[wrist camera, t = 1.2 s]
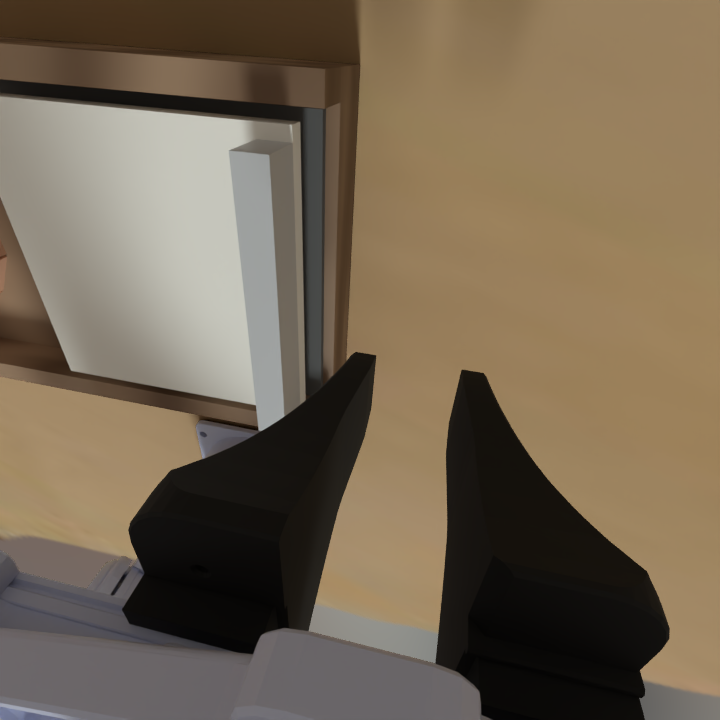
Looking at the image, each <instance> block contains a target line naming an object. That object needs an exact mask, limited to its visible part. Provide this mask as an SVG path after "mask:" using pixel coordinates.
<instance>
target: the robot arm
mask: <svg viewBox="0 0 720 720" xmlns="http://www.w3.org/2000/svg"><path fill="white" fill-rule="evenodd" d="M375 363H376V355H370V354H364V353H358V352H355V353H354V354H352V355H351V356H350V358H349V359H348V360H347V361H346V362H345V363H344V364H343V366H342V367H341V368H340V369H339V370H338V371H337V372H336V373H335V374H334V375H333V376H332V377H331V378H330V379H329V380H328V381H327V382H326V383H325V384H323V385H322V386H321V387H320V388H319V389H318V390H317V391H316V392H315V393H314V394H312V395H311V396H310V397H309V398H308V399H306V400H305V401H304V402H303V403H302V404H300V405H299V406H298V407H297V408H295V409H294V410H293V411H291V412H290V413H288V414H287V415H286V416H284V417H283V418H281V419H280V420H278V421H277V422H275V423H274V424H272V425H271V426H269V427H267V428H266V429H264V430H262V431H256V430H251V429H246V428H241V427H236V426H230V425H225V424H220V423H215V422H210V421H205V420H200V421H199V422H198V423H197V425H196V431H197V435H198V440H199V444H200V449H201V453H202V458H203V459H201V460H199V461H196V462H193V463H191V464H188V465H185V466H182V467H180V468H177V469H174V470H171V471H170V472H169V473H168V474H167V475H166V477H165V478H164V479H163V480H162V481H161V482H160V483H159V484H158V485H157V487H156V488H155V489H154V491H153V492H152V493H151V495H150V496H149V497H148V499H147V500H146V501H145V503H144V504H143V506H142V507H141V508H140V510H139V511H138V513H137V514H136V515H135V517H134V518H133V520H132V521H131V522H130V526H129V530H128V531H129V535H130V539H131V543H132V546H133V548H134V550H135V553H136V555H137V557H138V558H137V559H136V561H135V562H134V564H133V565H132V566H131V567H130V566H129V565H130V563H131V561H132V560H131V559H129V558H128V557H126V556H121V557H120V558H119V559H118V560H116V559H115V560H112V561H109V562H107V563H106V564H105V565H104V566H103V567H102V568H101V570H100V571H99V572H98V574H97V575H96V577H95V578H94V579H93V581H92V582H91V583H90V585H89V586H88V587H87V589H86V588H82V587H78V586H74V585H70V584H66V583H63V582H59V581H55V580H51V579H47V578H43V577H40V576H36V575H32V574H28V573H24V572H20V571H19V568H18V566H17V564H16V562H15V561H14V560H13V559H12V558H11V557H10V556H9V555H8V554H7V553H5V552H3V551H2V550H0V720H645V719H644V715H643V711H642V707H641V703H640V699H639V698H642V697H643V696H644V695H645V688H644V684H643V680H642V677H641V673H640V670H641V669H642V668H643V667H644V666H645V665H646V664H647V663H648V662H649V661H650V660H651V659H652V658H653V657H654V656H655V655H657V654H658V653H659V652H660V651H661V650H662V648H663V647H664V646H665V644H666V643H667V641H668V640H669V630H670V628H669V625H668V622H667V619H666V617H665V614H664V611H663V608H662V605H661V602H660V600H659V597H658V595H657V592H656V590H655V588H654V586H653V584H652V582H651V580H650V577H649V575H648V573H647V571H646V570H644V569H643V568H642V567H641V566H639V565H638V564H637V563H636V562H635V561H633V560H632V559H631V558H630V557H628V556H627V555H626V554H625V553H623V552H622V551H621V550H620V549H619V548H617V547H616V546H615V545H614V544H612V543H611V542H610V541H609V540H608V539H606V538H605V537H604V536H603V535H602V534H601V533H600V532H599V531H598V530H597V529H596V528H594V527H593V526H592V525H591V524H590V523H589V522H588V521H587V520H586V519H585V518H584V517H583V516H582V515H581V514H580V513H579V512H578V511H577V510H576V509H575V508H574V507H573V506H572V505H571V504H570V503H569V502H568V501H567V500H566V499H565V498H564V497H563V496H562V495H561V494H560V493H559V491H558V490H557V489H556V488H555V487H554V486H553V485H552V484H551V483H550V481H549V480H548V479H547V478H546V477H545V475H544V474H543V473H542V471H541V470H540V469H539V468H538V466H537V465H536V464H535V462H534V461H533V460H532V458H531V457H530V455H529V454H528V453H527V451H526V450H525V448H524V447H523V445H522V444H521V442H520V440H519V439H518V437H517V436H516V434H515V433H514V431H513V429H512V428H511V426H510V424H509V422H508V420H507V419H506V417H505V415H504V413H503V411H502V410H501V408H500V406H499V404H498V402H497V400H496V398H495V396H494V393H493V391H492V389H491V387H490V384H489V382H488V380H487V377H486V376H485V374H484V373H479V372H473V371H467V370H462V371H461V375H460V379H459V383H458V388H457V392H456V396H455V400H454V404H453V408H452V413H451V417H450V421H449V429H448V438H447V449H446V475H447V544H446V556H445V569H444V580H443V592H442V603H441V613H440V623H439V634H438V645H437V654H436V663H431V662H428V661H424V660H420V659H416V658H412V657H408V656H404V655H400V654H396V653H392V652H389V651H384V650H380V649H377V648H373V647H369V646H365V645H361V644H357V643H353V642H349V641H345V640H341V639H337V638H333V637H330V636H325V635H322V634H317V633H314V632H309V631H308V630H309V626H310V621H311V617H312V613H313V609H314V605H315V600H316V596H317V592H318V588H319V584H320V580H321V575H322V571H323V567H324V563H325V559H326V555H327V551H328V547H329V543H330V539H331V535H332V531H333V528H334V524H335V520H336V516H337V512H338V509H339V506H340V503H341V500H342V497H343V494H344V491H345V489H346V486H347V483H348V480H349V478H350V475H351V472H352V470H353V467H354V464H355V461H356V459H357V456H358V453H359V450H360V448H361V445H362V442H363V439H364V436H365V432H366V428H367V424H368V420H369V415H370V411H371V405H372V394H373V384H374V374H375Z"/></svg>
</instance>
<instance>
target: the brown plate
mask: <svg viewBox="0 0 720 720" xmlns="http://www.w3.org/2000/svg"><path fill="white" fill-rule="evenodd" d="M5 255H6V251H5V249H4V247H3V244H2V242H1V240H0V293H1V292H3V290H4V282H5V273H6V263H7V256H5Z"/></svg>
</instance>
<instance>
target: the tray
mask: <svg viewBox="0 0 720 720" xmlns="http://www.w3.org/2000/svg"><path fill="white" fill-rule="evenodd" d="M359 78H360V65H359V64H346V63H333V62H320V61H307V60H294V59H281V58H268V57H255V56H242V55H229V54H216V53H203V52H190V51H177V50H164V49H151V48H138V47H125V46H112V45H100V44H87V43H74V42H61V41H48V40H35V39H22V38H9V37H0V79H3V80H14V81H25V82H36V83H47V84H58V85H69V86H80V87H91V88H102V89H113V90H123V91H134V92H145V93H156V94H167V95H178V96H189V97H200V98H211V99H222V100H233V101H244V102H255V103H266V104H276V105H287V106H298V107H309V108H320V109H326V151H325V246H324V341H323V384H325V383H326V382H327V381H328V380H329V379H330V378H331V377H332V376H333V375H334V374H335V373H336V372H337V371H338V370H339V369H340V368H341V367H342V366H343V364H344V363H345V362H346V351H347V330H348V309H349V288H350V267H351V246H352V225H353V204H354V183H355V162H356V141H357V120H358V99H359ZM0 240H1V242H2V244H3V247H4V249H5V251H6V255H5V256H7V263H6V273H5V282H4V290H3V292H1V293H0V377H5V378H10V379H15V380H20V381H26V382H31V383H36V384H41V385H46V386H51V387H57V388H62V389H67V390H72V391H77V392H82V393H88V394H93V395H98V396H103V397H108V398H113V399H118V400H124V401H129V402H134V403H139V404H144V405H149V406H155V407H160V408H165V409H170V410H175V411H180V412H186V413H191V414H196V415H201V416H206V417H211V418H217V419H222V420H227V421H232V422H237V423H242V424H248V425H253V426H258V420H257V410H256V405H252V404H247V403H241V402H236V401H231V400H225V399H220V398H214V397H209V396H204V395H198V394H193V393H188V392H182V391H177V390H172V389H166V388H161V387H156V386H150V385H145V384H140V383H134V382H129V381H124V380H118V379H113V378H108V377H102V376H97V375H92V374H86V373H81V372H75V371H71V369H70V367H69V365H68V362H67V360H66V357H65V355H64V352H63V350H62V347H61V345H60V342H59V340H58V338H57V335H56V333H55V330H54V328H53V325H52V323H51V320H50V318H49V316H48V313H47V311H46V308H45V306H44V303H43V301H42V298H41V296H40V293H39V291H38V289H37V286H36V284H35V281H34V279H33V276H32V274H31V271H30V269H29V266H28V264H27V262H26V259H25V257H24V254H23V252H22V249H21V247H20V244H19V242H18V239H17V237H16V235H15V232H14V230H13V227H12V225H11V222H10V220H9V217H8V215H7V212H6V210H5V208H4V205H3V203H2V200H1V198H0ZM309 397H310V395H306V399H308V398H309Z"/></svg>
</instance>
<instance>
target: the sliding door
mask: <svg viewBox="0 0 720 720" xmlns="http://www.w3.org/2000/svg"><path fill="white" fill-rule="evenodd" d="M0 198H1V200H2V203H3V205H4V208H5V210H6V212H7V215H8V217H9V220H10V222H11V225H12V227H13V230H14V232H15V235H16V237H17V239H18V242H19V244H20V247H21V249H22V252H23V254H24V257H25V259H26V262H27V264H28V266H29V269H30V271H31V274H32V276H33V279H34V281H35V284H36V286H37V289H38V291H39V293H40V296H41V298H42V301H43V303H44V306H45V308H46V311H47V313H48V316H49V318H50V320H51V323H52V325H53V328H54V330H55V333H56V335H57V338H58V340H59V342H60V345H61V347H62V350H63V352H64V355H65V357H66V360H67V362H68V365H69V367H70V369H71V371H75V372H81V373H86V374H92V375H97V376H102V377H108V378H113V379H118V380H124V381H129V382H134V383H140V384H145V385H150V386H156V387H161V388H166V389H172V390H177V391H182V392H188V393H193V394H198V395H204V396H209V397H214V398H220V399H225V400H231V401H236V402H241V403H247V404H252V405H256V410H257V420H258V429H259V431H262V430H264V429H266V428H267V427H269V426H271V425H272V424H274V423H275V422H277V421H278V420H280V419H281V418H283V417H284V416H286V415H287V414H288V413H290V412H291V411H293V410H294V409H295V408H297V407H298V406H299V405H300V404H302V403H303V402H304V401H305V400H306V394H305V343H304V292H303V241H302V190H301V139H300V122H299V121H289V120H279V119H268V118H258V117H247V116H237V115H227V114H216V113H206V112H195V111H185V110H175V109H164V108H154V107H143V106H133V105H123V104H112V103H102V102H91V101H81V100H71V99H60V98H50V97H39V96H29V95H19V94H8V93H0Z"/></svg>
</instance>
